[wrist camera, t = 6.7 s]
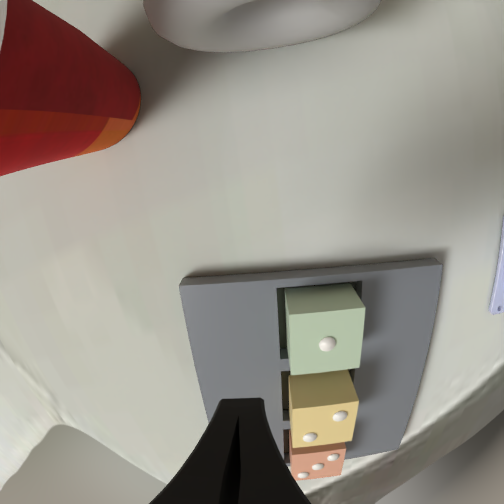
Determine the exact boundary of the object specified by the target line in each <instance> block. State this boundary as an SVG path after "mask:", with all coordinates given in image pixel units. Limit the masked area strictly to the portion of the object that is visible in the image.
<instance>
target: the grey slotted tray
mask: <svg viewBox="0 0 504 504" xmlns="http://www.w3.org/2000/svg"><path fill="white" fill-rule="evenodd" d="M442 268H443V264H442V263H440V262H439V261H438V260H436V259H435V258H429V259H419V260H409V261H398V262H387V263H376V264H365V265H353V266H342V267H329V268H317V269H304V270H292V271H278V272H265V273H250V274H236V275H221V276H205V277H189V278H183V279H182V281H181V283H180V285H179V290H180V295H181V301H182V306H183V311H184V316H185V321H186V326H187V331H188V336H189V341H190V346H191V350H192V355H193V360H194V364H195V368H196V373H197V377H198V381H199V386H200V390H201V394H202V398H203V402H204V406H205V410H206V414H207V418H208V422H209V423H210V421H211V419H212V417H213V415H214V412H215V410H216V408H217V406H218V403H219V401H220V400H221V399H233V398H258V397H261V398H262V399H264V404H265V412H266V416H267V420H268V423H269V426H270V429H271V432H272V435H273V437H274V440H275V442H276V444H277V447H278V449H279V451H280V453H281V455H282V457H283V459H284V461H285V463H286V465H287V466H290V454H289V453H284V441H283V429H291V426H290V416H289V410H282V388H281V371H290V365H289V357H288V349H287V348H282V349H280V345H279V326H278V308H277V290H276V288H282V287H295V286H307V285H319V284H331V283H342V282H353V281H357V283H356V293H357V295H358V296H359V298H360V300H361V301H362V303H363V304H364V306H365V318H364V330H363V340H362V349H361V358H360V366H359V368H353V369H350V377H351V380H352V382H353V385H354V388H355V391H356V394H357V396H358V399H359V404H358V410H357V416H356V421H355V427H354V432H353V437H352V441H346V442H345V445H346V452H345V457H344V460H345V459H351V458H357V457H362V456H367V455H372V454H377V453H382V452H387V451H391V450H395V449H398V448H399V446H400V443H401V440H402V438H403V435H404V432H405V429H406V426H407V423H408V420H409V417H410V414H411V411H412V408H413V405H414V401H415V398H416V395H417V391H418V388H419V384H420V381H421V377H422V373H423V369H424V365H425V361H426V357H427V353H428V348H429V344H430V339H431V335H432V330H433V325H434V320H435V314H436V308H437V303H438V296H439V290H440V283H441V276H442Z"/></svg>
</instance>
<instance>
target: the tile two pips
mask: <svg viewBox="0 0 504 504" xmlns="http://www.w3.org/2000/svg"><path fill="white" fill-rule="evenodd" d="M358 404H359V399H358V396H357V394H356V391H355V388H354V385H353V382H352V380H351V377H350V374H349V371H348V369H346V370H338V371H330V372H321V373H311V374H301V375H289V416H290V426H291V437H292V447H293V448H299V447H309V446H317V445H326V444H333V443H340V442H346V441H352V437H353V432H354V427H355V421H356V416H357V410H358Z"/></svg>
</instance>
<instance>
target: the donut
mask: <svg viewBox="0 0 504 504" xmlns="http://www.w3.org/2000/svg"><path fill="white" fill-rule="evenodd" d="M380 1H381V0H144V2H143V6H144V9H145V11H146V14H147V17H148V19H149V21H150V24H151V26H152V29H153V30H154V31H155V32H156V33H157V34H158V35H159V36H161V37H162V38H164V39H166V40H168V41H170V42H171V43H173V44H175V45H177V46H179V47H182V48H187V49H192V50H197V51H204V52H244V51H254V50H263V49H272V48H277V47H283V46H289V45H295V44H299V43H304V42H308V41H313V40H317V39H320V38H323V37H327V36H330V35H333V34H336V33H339V32H341V31H343V30H345V29H348V28H350V27H352V26H354V25H356V24H358V23H360V22H361V21H363V20H364V19H365V18H367V17H368V16H370V15H371V14H372V13H373V12H374V11H375V10H376V8H377V7H378V5H379V3H380Z"/></svg>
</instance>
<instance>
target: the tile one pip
mask: <svg viewBox="0 0 504 504" xmlns="http://www.w3.org/2000/svg"><path fill="white" fill-rule="evenodd" d="M285 311H286V336H287V349H288V357H289V365H290V372H291V375H301V374H311V373H321V372H330V371H338V370H346V369H353V368H359V366H360V358H361V349H362V340H363V330H364V318H365V306H364V304H363V303H362V301H361V300H360V298H359V296H358V295H357V293H356V292H355V290H354V288H353V287H352V285H351V284H350V283H345V284H334V285H322V286H311V287H298V288H286V289H285Z"/></svg>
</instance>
